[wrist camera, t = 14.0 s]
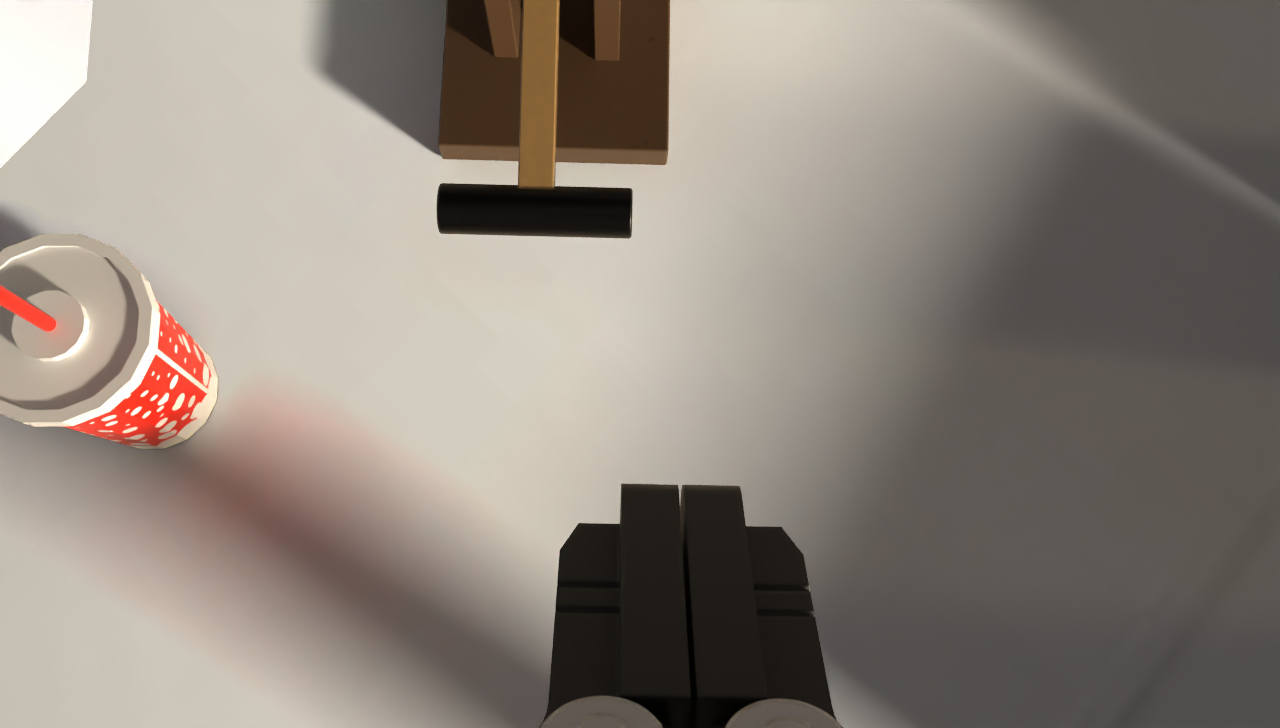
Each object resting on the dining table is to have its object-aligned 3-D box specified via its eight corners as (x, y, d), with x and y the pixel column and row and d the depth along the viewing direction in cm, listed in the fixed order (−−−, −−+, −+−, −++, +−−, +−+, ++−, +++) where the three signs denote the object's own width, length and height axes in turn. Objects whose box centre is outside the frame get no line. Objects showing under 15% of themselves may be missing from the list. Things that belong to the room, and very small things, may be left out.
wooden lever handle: (630, 243, 39) (631, 232, 37) (444, 238, 39) (433, 227, 37) (640, -187, 40) (642, -226, 37) (457, -194, 39) (446, -232, 37)
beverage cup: (101, 299, 47) (-107, 150, 33) (256, 328, 46) (112, 190, 33) (54, 453, 45) (-184, 364, 32) (214, 483, 45) (44, 407, 31)
